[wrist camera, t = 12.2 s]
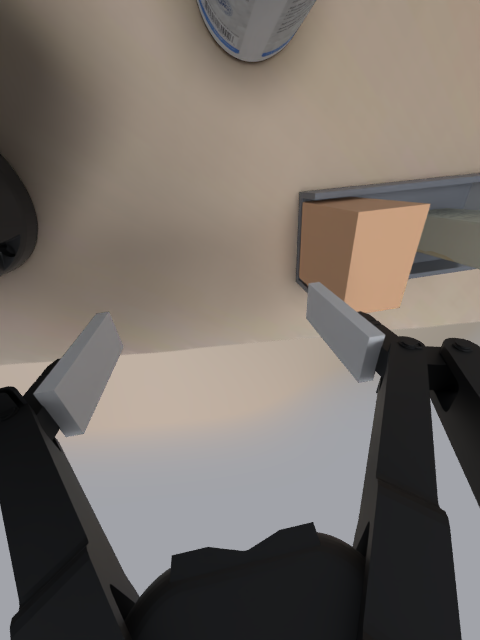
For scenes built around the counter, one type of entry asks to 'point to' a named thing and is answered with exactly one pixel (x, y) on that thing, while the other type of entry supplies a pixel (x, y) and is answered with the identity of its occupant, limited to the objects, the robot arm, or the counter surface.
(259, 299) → the counter surface
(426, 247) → the skincare box
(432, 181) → the tray
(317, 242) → the block
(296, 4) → the supplement tub
